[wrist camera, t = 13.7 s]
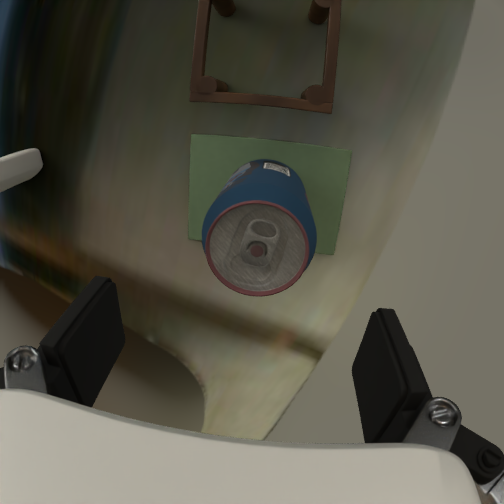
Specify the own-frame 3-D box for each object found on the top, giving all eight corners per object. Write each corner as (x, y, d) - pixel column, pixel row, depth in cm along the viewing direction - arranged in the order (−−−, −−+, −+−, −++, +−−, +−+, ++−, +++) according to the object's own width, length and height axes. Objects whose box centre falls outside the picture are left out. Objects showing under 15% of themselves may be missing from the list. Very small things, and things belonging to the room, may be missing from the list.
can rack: (204, 102, 26) (189, 101, 21) (214, -3, 22) (201, -22, 17) (322, 113, 26) (331, 114, 21) (332, 7, 21) (342, -12, 17)
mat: (189, 237, 31) (188, 239, 31) (192, 134, 27) (191, 134, 27) (333, 253, 31) (333, 255, 31) (350, 150, 27) (351, 151, 26)
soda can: (289, 241, 30) (293, 318, 19) (218, 218, 30) (183, 284, 19) (315, 171, 27) (340, 215, 17) (239, 146, 27) (212, 173, 16)
